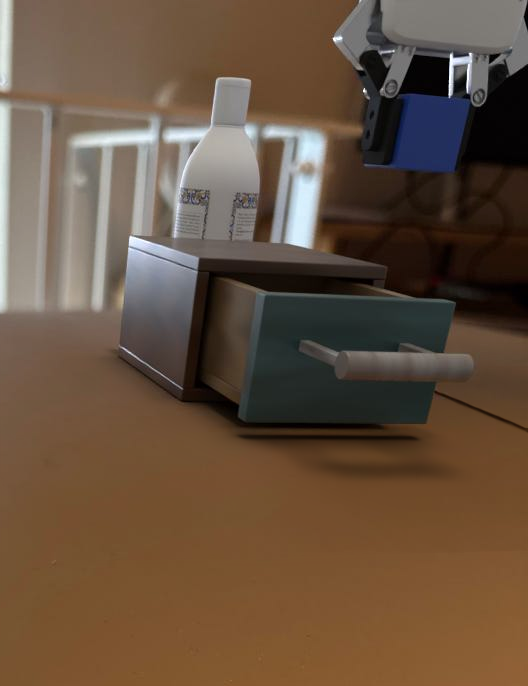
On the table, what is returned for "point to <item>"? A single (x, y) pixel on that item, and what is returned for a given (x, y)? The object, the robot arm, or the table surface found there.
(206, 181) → the bath foam
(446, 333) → the teal drawer
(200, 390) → the cabinet
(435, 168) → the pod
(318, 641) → the table surface
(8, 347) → the table surface
